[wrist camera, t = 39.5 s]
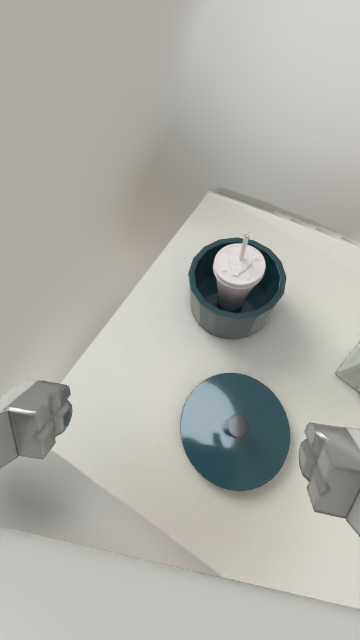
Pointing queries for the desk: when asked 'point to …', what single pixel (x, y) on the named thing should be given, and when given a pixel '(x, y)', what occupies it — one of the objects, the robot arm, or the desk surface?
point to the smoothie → (237, 273)
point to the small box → (351, 369)
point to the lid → (235, 431)
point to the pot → (255, 304)
